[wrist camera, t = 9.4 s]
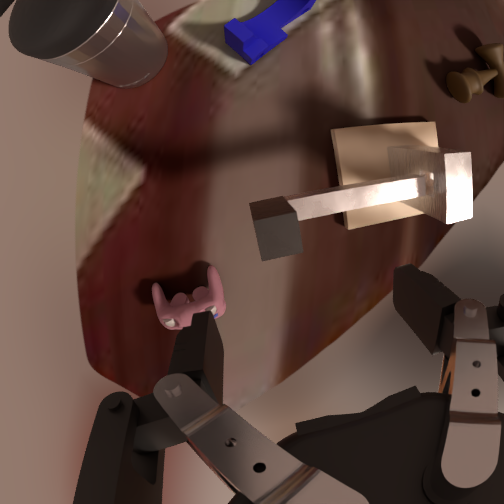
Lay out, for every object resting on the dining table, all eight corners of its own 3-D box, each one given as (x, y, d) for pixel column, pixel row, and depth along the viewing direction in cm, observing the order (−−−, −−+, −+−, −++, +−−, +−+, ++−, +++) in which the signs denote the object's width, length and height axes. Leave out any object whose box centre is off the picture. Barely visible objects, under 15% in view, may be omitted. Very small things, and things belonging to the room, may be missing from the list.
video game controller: (164, 298, 42) (165, 339, 38) (149, 281, 39) (147, 324, 34) (225, 279, 42) (232, 321, 37) (214, 260, 38) (221, 304, 34)
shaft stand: (330, 129, 33) (379, 125, 21) (429, 121, 33) (494, 123, 21) (344, 226, 38) (391, 266, 26) (436, 207, 38) (496, 235, 25)
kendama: (431, 61, 30) (492, 41, 27) (455, 117, 34) (511, 88, 30) (454, 56, 25) (513, 38, 21) (479, 119, 28) (532, 89, 25)
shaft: (248, 198, 27) (253, 221, 20) (414, 169, 27) (462, 181, 19) (254, 228, 28) (261, 261, 21) (416, 196, 28) (462, 215, 20)
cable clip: (250, 65, 30) (253, 51, 25) (225, 43, 29) (223, 25, 23) (318, 17, 28) (331, -1, 22) (293, -5, 26) (303, -25, 21)
